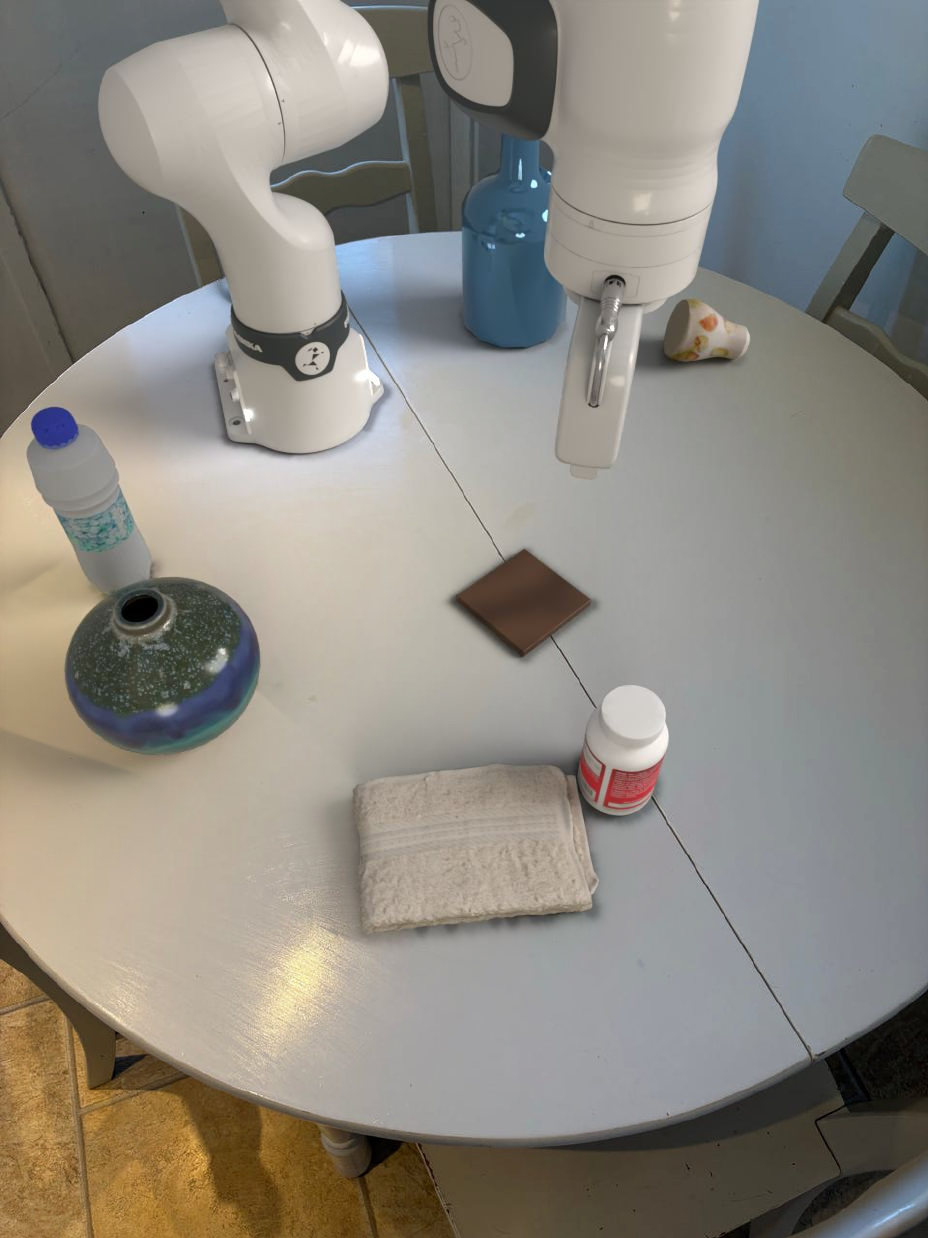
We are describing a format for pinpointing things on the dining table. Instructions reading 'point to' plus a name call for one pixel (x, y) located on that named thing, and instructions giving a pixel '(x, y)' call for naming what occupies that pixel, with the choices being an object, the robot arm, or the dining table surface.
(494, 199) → the wine bottle
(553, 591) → the coaster
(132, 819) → the dining table surface
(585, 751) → the pill bottle
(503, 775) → the washcloth
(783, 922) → the dining table surface
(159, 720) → the vase
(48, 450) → the bottle
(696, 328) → the mug
